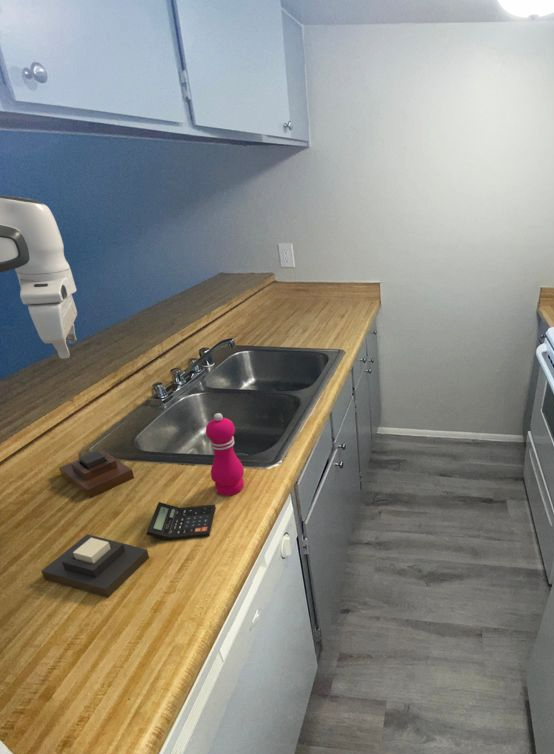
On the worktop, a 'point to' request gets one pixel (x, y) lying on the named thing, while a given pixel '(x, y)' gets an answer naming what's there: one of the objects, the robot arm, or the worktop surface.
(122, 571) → the key block
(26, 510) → the worktop surface
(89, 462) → the far key
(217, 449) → the pepper mill
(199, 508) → the calculator
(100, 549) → the near key
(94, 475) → the key block
